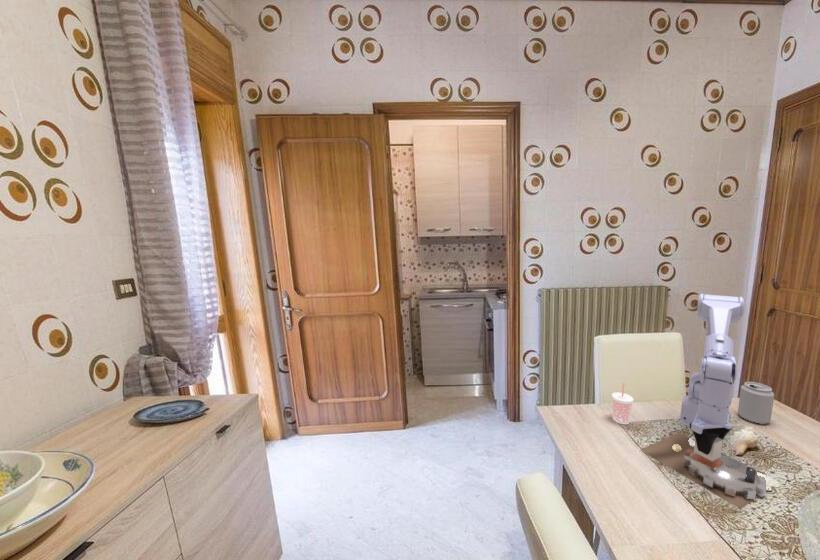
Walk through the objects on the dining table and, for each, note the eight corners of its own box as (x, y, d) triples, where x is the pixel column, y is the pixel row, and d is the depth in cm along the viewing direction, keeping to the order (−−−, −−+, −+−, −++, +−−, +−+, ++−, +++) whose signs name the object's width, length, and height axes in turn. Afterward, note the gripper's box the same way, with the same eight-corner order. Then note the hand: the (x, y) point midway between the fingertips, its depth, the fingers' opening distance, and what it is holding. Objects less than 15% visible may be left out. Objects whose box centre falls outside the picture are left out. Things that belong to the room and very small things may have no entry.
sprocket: (679, 447, 93) (681, 431, 92) (753, 467, 85) (756, 449, 84) (688, 482, 81) (690, 464, 80) (776, 509, 72) (779, 489, 71)
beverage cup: (623, 429, 104) (626, 388, 102) (605, 419, 109) (608, 381, 107) (635, 424, 106) (639, 384, 104) (617, 414, 112) (620, 377, 110)
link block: (693, 451, 86) (695, 434, 85) (702, 447, 88) (704, 430, 87) (712, 461, 83) (714, 443, 82) (720, 456, 84) (723, 438, 83)
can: (735, 410, 112) (739, 378, 110) (766, 417, 108) (771, 383, 106) (740, 420, 106) (744, 387, 104) (773, 428, 102) (778, 393, 100)
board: (639, 451, 93) (640, 450, 93) (678, 433, 101) (678, 432, 100) (740, 511, 73) (740, 508, 73) (779, 483, 80) (779, 481, 80)
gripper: (718, 417, 76) (711, 468, 78) (748, 403, 82) (742, 450, 84) (683, 403, 83) (678, 450, 85) (714, 390, 88) (708, 435, 90)
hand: (708, 449), depth 85 cm, fingers closed on link block, 4 cm apart
